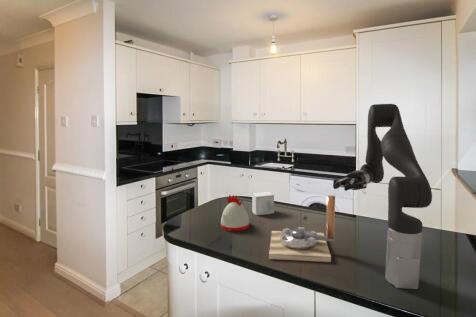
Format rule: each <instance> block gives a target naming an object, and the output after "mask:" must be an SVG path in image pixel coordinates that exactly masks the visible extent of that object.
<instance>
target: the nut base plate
mask: <svg viewBox="0 0 476 317" xmlns="http://www.w3.org/2000/svg"><path fill="white" fill-rule="evenodd" d="M315 232H316V231H315ZM282 233H283V230H271V234H270V243H269V253H268V259H269V260H283V261H284V260H285V261H301V262H302V261H303V262H320V263H321V262H323V263H325V262H326V263H331V262H332V255H331V252H330V249H329V246H328V243H327V242H328V241H323V240H317V244H316V246H315V247H313V248H311V249H306V250H296V249H290V248H287V247H285V246H283V245H282V244H281V238H280V234H282ZM316 233H317V235H323V236H325V234H324V232H316Z"/></svg>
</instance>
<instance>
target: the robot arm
mask: <svg viewBox="0 0 476 317" xmlns="http://www.w3.org/2000/svg"><path fill="white" fill-rule="evenodd" d="M367 114H368V115H367V146H366V153H365V163H363V164H362V165H361V167H360V169H358V170H353V171H351V172H349V173H347V174H346V175H345V177H344V178H341V179H339V178H338V177H334V179H333V180H332V181H333V183H332V184H333V185H332V188H333V189H334V190H337V189H339V188H343V189H344V191H346V192H347V191H349V190H352V191H358V190H364V189H367V186H368V184H370V183H374V184H379V183H381V182H382V181H383V179H384V177H385V169H384V164H383V162H384V161H383V160H385V161H386V162H387V163H388V165H390V166H391V167H393V168H394V169H395V170H397V171H399V172H400V173H401V174H402V175H403V176H392V177H391V178H390V180H389V182H388V186H387V190H388V191H387V198H388V199H387V200H388V201H387V202H388V203H387V204H388V205H387V206H388V207H387V238H386V257H385V271H384V272H385V273H384V275H385V277H384V278H385V280H386V281H387V283H389V284H390V285H393V286H394V287H395V288H396V289H408V290H419V283H420V282H419V281H420V267H421V254H422V251H421V250H422V240H423V238H422V236H423V222H422V221H421V219H419V218H418V217H415V216H413V215H409V214H407V213H405V212H404V211H403V208H408V209H409V208H413V209H423V208H428V207H429V206H431V204H432V202H433V201H432V200H433V191H432V187H431V185H430V182H429V180H428V178H427V176H426V174H425V172H424V171H423V170H422V168H421V166H420V163H419V162H418V159H417V158H416V156H415V153H414V150H413V146H412V144H411V140H410V139H409V137H408V134H407V132H406V129H405V127H404V124H403V121H402V117H401V116H402V115H401V112H400V109H399V106H397V105H396V104H395V103H376V104H372V105H370V107H369V109H368V113H367ZM377 128H389V130H388V131H386V133H385V134H384V135H383V137H382V138H381V139H380V138H379V135H378V134H377V130H376V129H377Z"/></svg>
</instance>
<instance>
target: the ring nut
mask: <svg viewBox="0 0 476 317" xmlns="http://www.w3.org/2000/svg"><path fill="white" fill-rule="evenodd" d="M325 210H326V211H325V212H326V216H325V218H326V219H325V220H326V221H325V235H324V236H323V235H317V233H318V232H317V233H316V231H315V230H310V231H308V230H305V227H304V226H297V228H296V229H295V228H294V229H291V228H289V227H285V228H283V229H282V231H283V233H282V234H280V238H281V244H282V245H283V246H285V247H287V248H290V249H296V250H306V249H311V248H313V247H315V246H316V244H317V240H323V241H326V242H333V243H334V242H335V220H336V218H335V217H336V214H335V213H336V212H335V211H336V196H335V195H327V196H326V209H325Z"/></svg>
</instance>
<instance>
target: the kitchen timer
mask: <svg viewBox="0 0 476 317" xmlns="http://www.w3.org/2000/svg"><path fill="white" fill-rule="evenodd" d="M226 201H227V203H228V204H227V205H226V206H225V207H224V209H223V212H222V215H221V218H220V228H221V229H222V230H224V231H229V232H239V231H245V230H247V229H248V228H250V225H251V224H250V223H251V222H250V218H249V214H248V211H247V210H246V208H245V206H243V205H242V203H243V200H241V201H240V197H239V198H238V197H237V195H234V194H233V195H231V194H229V195H228V196H227V197H226Z"/></svg>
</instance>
